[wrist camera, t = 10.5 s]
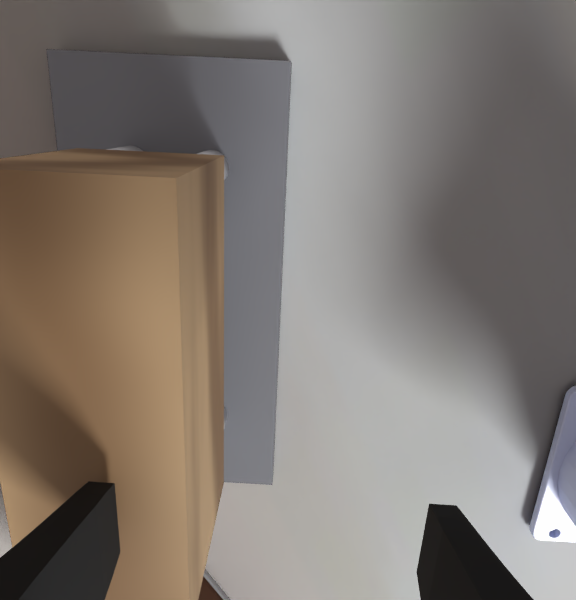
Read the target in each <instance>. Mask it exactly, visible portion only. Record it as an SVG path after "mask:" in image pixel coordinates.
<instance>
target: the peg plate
mask: <svg viewBox="0 0 576 600" xmlns="http://www.w3.org/2000/svg"><path fill="white" fill-rule="evenodd" d="M47 58H48V67H49V76H50V86H51V95H52V104H53V114H54V123H55V132H56V141H57V151H60V150H68V149H75V148H84V149H104V150H125V151H145V152H165V153H186V154H206V155H224V482H233V483H250V484H267V485H272V482H273V467H274V445H275V422H276V400H277V378H278V355H279V333H280V310H281V288H282V265H283V243H284V221H285V198H286V176H287V153H288V131H289V108H290V86H291V64H292V63H291V61H281V60H261V59H240V58H220V57H199V56H178V55H158V54H137V53H117V52H96V51H76V50H55V49H47Z"/></svg>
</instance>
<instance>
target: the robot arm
mask: <svg viewBox="0 0 576 600" xmlns="http://www.w3.org/2000/svg"><path fill="white" fill-rule="evenodd" d="M553 529H555V530H553ZM551 530H553V531H551ZM530 531H531V533H532V535H533V537H534V538H535V539H537V540H542V541H559V542H576V385H575V386H573V387H571V388H570V389H569V390H568V391H567V393H566V395H565V398H564V402H563V405H562V409H561V413H560V416H559V420H558V424H557V427H556V431H555V435H554V438H553V442H552V446H551V450H550V453H549V457H548V461H547V464H546V468H545V472H544V475H543V479H542V483H541V486H540V490H539V494H538V497H537V501H536V505H535V508H534V512H533V516H532V519H531V523H530ZM119 555H120V540H119V529H118V517H117V505H116V493H115V483H106V482H90V481H88V482H87V483H86V484H85V485H84V486H82V487H81V488H80V489H79V490H78V491H77V492H75V493H74V494H73V495H72V496H71V497H70V498H69V499H68V500H66V501H65V502H64V503H63V504H62V505H61V506H60V507H59V508H58V509H56V510H55V511H54V512H53V513H52V514H51V515H50V516H48V517H47V518H46V519H45V520H44V521H43V522H42V523H41V524H39V525H38V526H37V527H36V528H35V529H34V530H33V531H31V532H30V533H29V534H28V535H27V536H25V537H24V538H23V539H22V540H21V541H20V542H18V543H17V544H16V545H15V546H14V547H13V548H11V549H10V550H9V551H8V552H7V553H5V554H4V555H3V556H2V557H1V558H0V600H105V598H106V595H107V592H108V589H109V586H110V583H111V580H112V577H113V574H114V571H115V568H116V564H117V561H118V558H119ZM417 577H418V583H419V590H420V597H421V600H533V599H532V598H531V596H530V595H529V594H528V593H527V592H526V591H525V589H524V588H523V587H522V586H521V585H520V584H519V582H518V581H517V580H516V579H515V578H514V577H513V575H512V574H511V573H510V572H509V571H508V570H507V568H506V567H505V566H504V565H503V563H502V562H501V561H500V560H499V559H498V557H497V556H496V555H495V554H494V552H493V551H492V550H491V549H490V547H489V546H488V545H487V544H486V542H485V541H484V540H483V539H482V537H481V536H480V535H479V534H478V532H477V531H476V530H475V528H474V527H473V526H472V525H471V523H470V522H469V521H468V519H467V518H466V517H465V516H464V514H463V513H462V512H461V511H460V509H459V508H458V507H457V506H454V505H439V504H429V508H428V513H427V519H426V524H425V530H424V535H423V541H422V546H421V552H420V557H419V563H418V568H417Z"/></svg>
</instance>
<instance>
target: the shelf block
mask: <svg viewBox="0 0 576 600" xmlns="http://www.w3.org/2000/svg"><path fill="white" fill-rule="evenodd" d="M88 481H90V482H106V483H115V493H116V505H117V517H118V529H119V540H120V555H119V558H118V561H117V564H116V568H115V571H114V574H113V577H112V580H111V583H110V586H109V589H108V592H107V595H106V598H105V600H198V598H199V594H200V589H201V585H202V580H203V575H204V571H205V566H206V562H207V557H208V552H209V548H210V543H211V539H212V534H213V529H214V525H215V520H216V516H217V511H218V506H219V502H220V497H221V493H222V488H223V483H224V155H206V154H186V153H165V152H145V151H125V150H104V149H84V148H75V149H68V150H60V151H53V152H45V153H38V154H30V155H23V156H15V157H8V158H0V483H1V489H2V494H3V499H4V505H5V510H6V515H7V521H8V526H9V531H10V537H11V542H12V547H14V546H15V545H16V544H17V543H18V542H20V541H21V540H22V539H23V538H24V537H25V536H27V535H28V534H29V533H30V532H31V531H33V530H34V529H35V528H36V527H37V526H38V525H39V524H41V523H42V522H43V521H44V520H45V519H46V518H47V517H48V516H50V515H51V514H52V513H53V512H54V511H55V510H56V509H58V508H59V507H60V506H61V505H62V504H63V503H64V502H65V501H66V500H68V499H69V498H70V497H71V496H72V495H73V494H74V493H75V492H77V491H78V490H79V489H80V488H81V487H82V486H84V485H85V484H86V483H87V482H88Z"/></svg>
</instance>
